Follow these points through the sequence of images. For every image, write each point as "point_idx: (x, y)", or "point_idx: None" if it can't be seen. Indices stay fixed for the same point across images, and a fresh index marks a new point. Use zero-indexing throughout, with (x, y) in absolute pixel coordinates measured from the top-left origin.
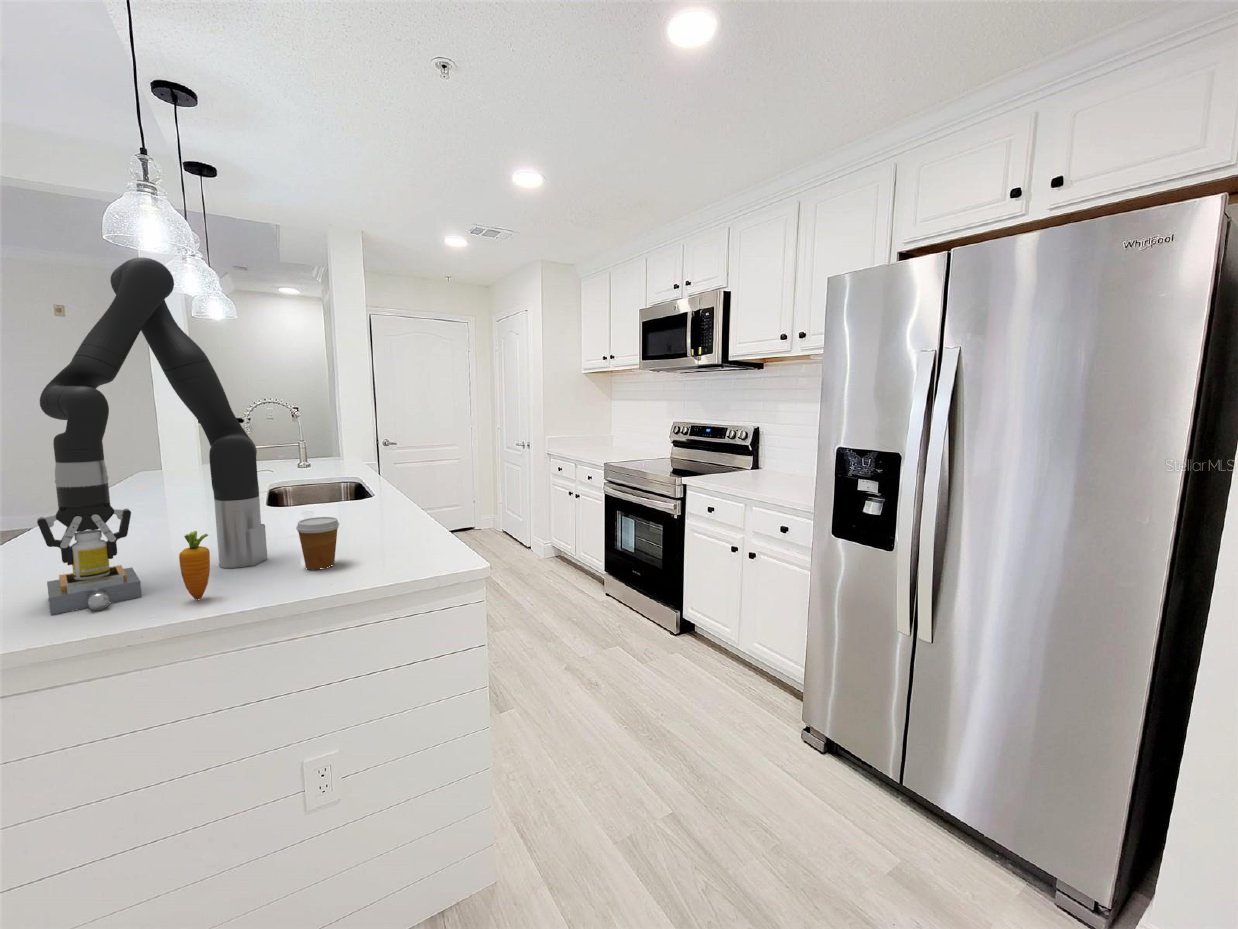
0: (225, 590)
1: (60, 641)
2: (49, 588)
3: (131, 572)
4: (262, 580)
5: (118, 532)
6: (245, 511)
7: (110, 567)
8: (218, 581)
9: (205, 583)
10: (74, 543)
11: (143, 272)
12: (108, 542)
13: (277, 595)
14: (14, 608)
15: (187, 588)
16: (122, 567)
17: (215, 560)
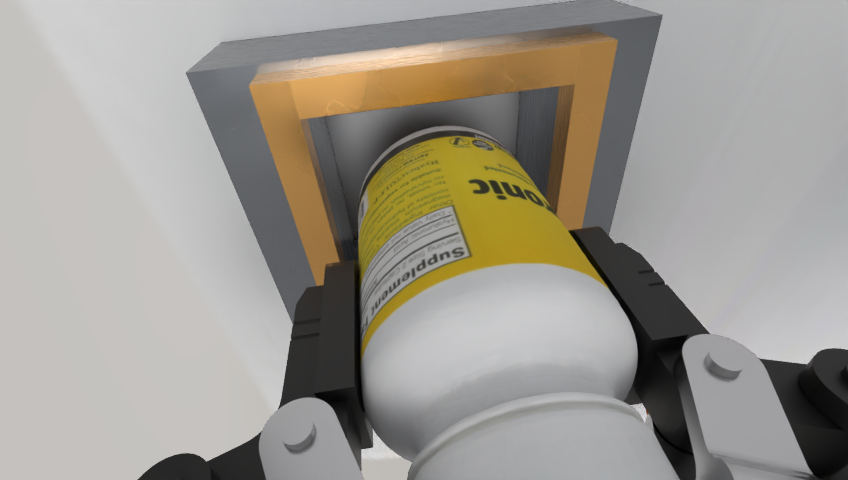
0: (730, 329)
1: (379, 453)
2: (267, 247)
3: (611, 165)
4: (845, 296)
5: (802, 453)
6: None
7: (549, 75)
8: (788, 236)
9: None
10: (394, 420)
11: None
12: (635, 400)
13: None
14: (127, 149)
15: (647, 412)
16: (600, 128)
17: None
